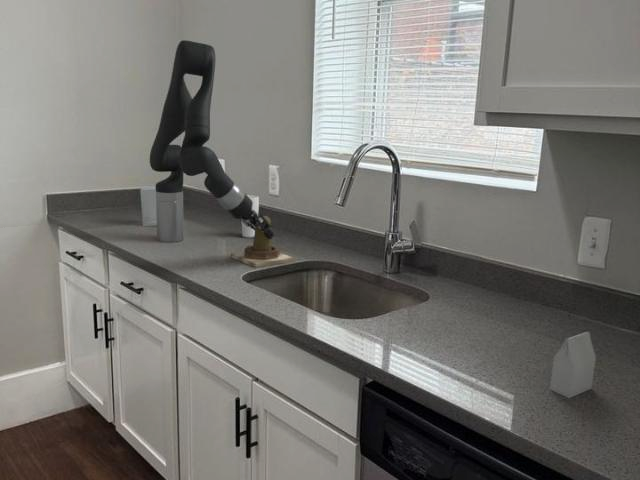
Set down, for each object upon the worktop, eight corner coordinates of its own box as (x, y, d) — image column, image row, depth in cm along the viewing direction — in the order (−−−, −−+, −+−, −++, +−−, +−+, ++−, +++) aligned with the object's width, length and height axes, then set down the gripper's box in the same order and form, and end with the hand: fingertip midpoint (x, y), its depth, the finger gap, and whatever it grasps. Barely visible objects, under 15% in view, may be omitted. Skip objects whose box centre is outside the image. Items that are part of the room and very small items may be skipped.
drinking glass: (236, 237, 213) (236, 196, 210) (245, 233, 219) (246, 194, 216) (253, 239, 211) (253, 198, 207) (261, 235, 217) (262, 196, 213)
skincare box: (164, 223, 234) (163, 186, 230) (163, 226, 228) (162, 188, 225) (142, 223, 232) (141, 186, 229) (141, 226, 226) (140, 188, 223)
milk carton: (591, 388, 102) (599, 335, 100) (569, 398, 98) (576, 343, 96) (572, 380, 105) (579, 328, 103) (549, 389, 101) (556, 335, 99)
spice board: (230, 257, 184) (230, 246, 183) (267, 251, 193) (268, 241, 192) (255, 267, 173) (255, 256, 172) (294, 261, 181) (294, 250, 180)
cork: (268, 253, 178) (268, 218, 176) (249, 252, 179) (249, 217, 177) (273, 249, 184) (274, 215, 182) (255, 248, 185) (256, 214, 183)
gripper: (254, 193, 168) (287, 230, 178) (229, 187, 179) (262, 222, 189) (238, 213, 166) (272, 249, 176) (214, 205, 177) (248, 240, 187)
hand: (267, 235), depth 182 cm, fingers closed on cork, 4 cm apart
